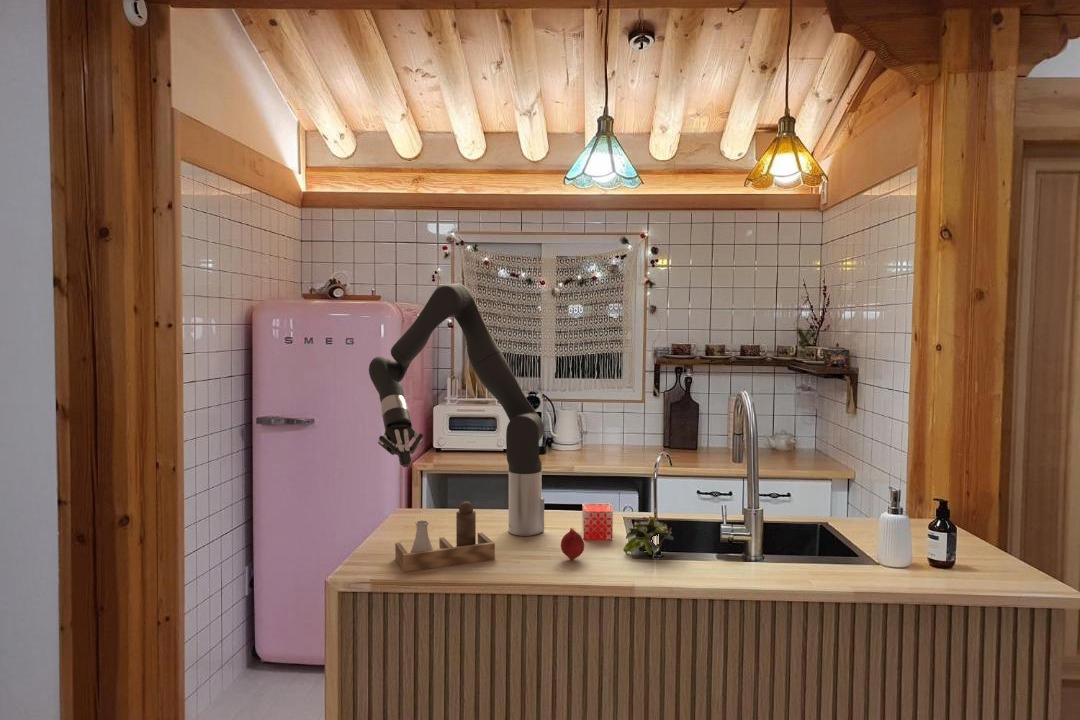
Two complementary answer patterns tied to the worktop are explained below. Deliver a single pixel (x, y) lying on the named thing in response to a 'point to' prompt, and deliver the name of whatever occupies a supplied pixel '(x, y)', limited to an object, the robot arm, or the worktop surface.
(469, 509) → the pepper mill
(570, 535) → the onion
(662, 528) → the green leafy plant
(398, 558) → the rack
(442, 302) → the robot arm
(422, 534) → the flask
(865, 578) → the worktop surface
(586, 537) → the red patterned cube
